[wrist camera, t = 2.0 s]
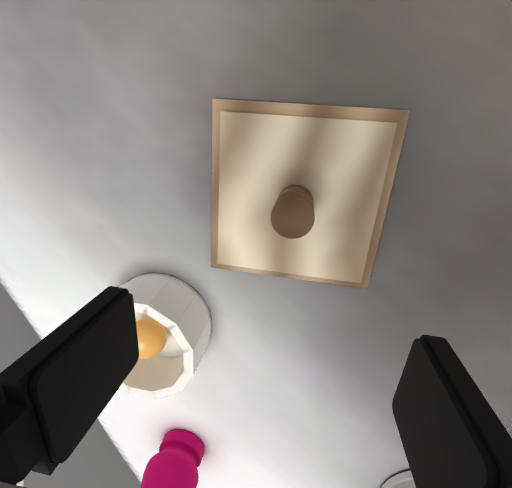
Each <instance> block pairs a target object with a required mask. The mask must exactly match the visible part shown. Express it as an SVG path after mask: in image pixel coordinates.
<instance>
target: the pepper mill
mask: <svg viewBox="0 0 512 488" xmlns="http://www.w3.org/2000/svg"><path fill="white" fill-rule="evenodd" d="M203 454H204V446H203V443H202V442H201V440H200V439H199V438H198V437H197V436H196V435H194V434H193V433H191V432H188V431H185V430H179V429H176V430H171V431H170V432H168V433H167V434H166V435H165V437H164V439H163V441H162V443H161V445H160V447H159V453H157V454H156V455H154V456H153V457H152V458H151V459H150V460H149V462H148V464H147V466H146V469H145V471H144V475H143V479H142V483H141V488H196V486H197V483H198V471H197V467H198V466H199V465H200V463H201V460H202V457H203Z"/></svg>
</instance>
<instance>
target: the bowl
mask: <svg viewBox="0 0 512 488" xmlns="http://www.w3.org/2000/svg"><path fill="white" fill-rule="evenodd" d="M120 288H126V289H128V291H129V293H131V294H132V295H133V300H134V309H135V318H136V321H137V320H139V319H142V318H153V319H155V320H156V321H158V322H159V323H161V324H162V325H164V326H165V328H166V330H167V342H166V345H165V347H164V348H163V350H162V351H161V352H160V353H159V354H158V355H156V356H155V357H152V358H149V359H139V358H138V361H137V363H136V365H135V366H134V368H133V369H132V370H131V372H130V373H129V375H128V376H127V377H126V379H125V380H124V381H123V383H122V384H121V386H120V387H119V388H120V389H122V390H123V391H125V392H126V393H129V394H133V395H138V396H143V397H148V398H153V399H157V398H161V397H165V396H169V395H173V394H177V393H180V391H181V390H182V389H183V388H184V386H185V385H186V384H187V383H188V382H189V380H190V379H191V378H192V377H193V375H194V373H195V371H196V369H197V367H198V365H199V363H200V361H201V359H202V356H203V354H204V352H205V350H206V348H207V346H208V344H209V338H210V335H211V331H212V320H211V315H210V312H209V309H208V307H207V305H206V303H205V302H204V300H203V299H202V297H201V296H200V295H199V294H198V293H197V292H196V291H195V290H194V289H193V288H192V287H191V286H189V285H188V284H187V283H185V282H183V281H181V280H180V279H177V278H175V277H172V276H169V275H165V274H160V273H148V274H143V275H140V276H137V277H135V278H133V279H131V280H130V281H129V282H127V283H125V284H123V285H121V286H120Z"/></svg>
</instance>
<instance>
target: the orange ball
mask: <svg viewBox="0 0 512 488" xmlns="http://www.w3.org/2000/svg"><path fill="white" fill-rule="evenodd" d="M136 328H137V337H138V346H139V359H149V358H152V357H155V356H156V355H158V354H159V353H160V352H161V351H162V350H163V348H164V347H165V345H166V342H167V330H166V328H165V326H164V325H162V324H161V323H159V322H158V321H156V320H155V319H153V318H142V319H139V320H137V321H136Z"/></svg>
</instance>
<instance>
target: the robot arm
mask: <svg viewBox="0 0 512 488" xmlns="http://www.w3.org/2000/svg"><path fill="white" fill-rule="evenodd" d="M138 358H139V346H138V337H137V328H136V318H135V309H134V300H133V295H132V294H131V293H129V291H128V289H126V288H120V287H113V286H110V287H108V288H106V289H105V290H104V291H103V292H101V293H100V294H99V295H98V296H96V297H95V298H94V299H93V300H91V301H90V302H89V303H88V304H86V305H85V306H84V307H83V308H81V309H80V310H79V311H78V312H76V313H75V314H74V315H73V316H71V317H70V318H69V319H68V320H66V321H65V322H64V323H63V324H61V325H60V326H59V327H58V328H56V329H55V330H54V331H53V332H51V333H50V334H49V335H48V336H46V337H45V338H44V339H43V340H41V341H40V342H39V343H38V344H36V345H35V346H34V347H33V348H31V349H30V350H29V351H28V352H26V353H25V354H24V355H23V356H21V357H20V358H19V359H18V360H16V361H15V362H14V363H13V364H12V365H10V366H9V367H8V368H6V369H5V370H4V371H3V372H1V373H0V488H26V487H23V481H24V478H25V477H26V476H27V474H28V473H29V472H30V471H31V470H32V471H34V472H38V473H42V474H46V475H51V474H52V472H53V471H54V470H55V468H56V467H57V465H58V464H59V463H63V462H64V461H66V460H67V458H68V457H69V456H70V455H71V453H72V452H73V451H74V449H75V448H76V446H77V445H78V444H79V442H80V441H81V439H82V438H83V437H84V435H85V434H86V433H87V431H88V430H89V429H90V427H91V426H92V424H93V423H94V421H95V420H96V419H97V417H98V416H99V415H100V413H101V412H102V411H103V409H104V408H105V406H106V405H107V404H108V402H109V401H110V399H111V398H112V397H113V395H114V394H115V393H116V391H117V390H118V388H119V387H120V386H121V384H122V383H123V381H124V380H125V379H126V377H127V376H128V375H129V373H130V372H131V370H132V369H133V368H134V366H135V365H136V363H137V361H138ZM392 409H393V414H394V417H395V421H396V424H397V427H398V430H399V434H400V437H401V440H402V443H403V447H404V450H405V453H406V457H407V460H408V463H409V466H410V470H409V471H405V472H402V473H399V474H397V475H395V476H393V477H391V478H390V479H389V480H387V481H386V482H385V483H384V484H383V486H382V487H381V488H512V438H511V437H510V435H509V434H508V432H507V431H506V429H505V428H504V426H503V425H502V423H501V422H500V420H499V419H498V417H497V416H496V414H495V413H494V411H493V410H492V408H491V407H490V405H489V403H488V402H487V400H486V399H485V397H484V396H483V394H482V393H481V391H480V390H479V388H478V387H477V385H476V384H475V382H474V381H473V379H472V378H471V376H470V375H469V373H468V372H467V370H466V369H465V367H464V366H463V364H462V363H461V361H460V360H459V358H458V357H457V355H456V354H455V352H454V351H453V349H452V348H451V346H450V345H449V343H448V342H447V340H446V339H445V338H442V337H435V336H429V335H422V336H421V337H420V339H415V340H414V342H413V344H412V347H411V350H410V353H409V356H408V358H407V361H406V364H405V367H404V370H403V373H402V376H401V378H400V381H399V384H398V387H397V390H396V393H395V395H394V398H393V403H392Z"/></svg>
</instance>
